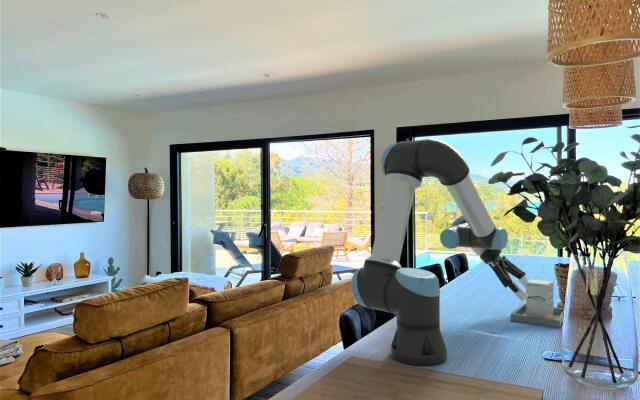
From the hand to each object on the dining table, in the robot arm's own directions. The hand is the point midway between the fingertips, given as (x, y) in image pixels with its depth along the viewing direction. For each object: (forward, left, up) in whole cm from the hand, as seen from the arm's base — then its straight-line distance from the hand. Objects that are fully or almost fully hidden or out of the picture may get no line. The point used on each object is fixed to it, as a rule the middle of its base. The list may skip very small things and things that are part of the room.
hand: (530, 295), depth 159 cm
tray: (0, -3, -8) cm, 9 cm away
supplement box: (+1, -3, -8) cm, 8 cm away
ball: (-6, -7, -7) cm, 12 cm away
